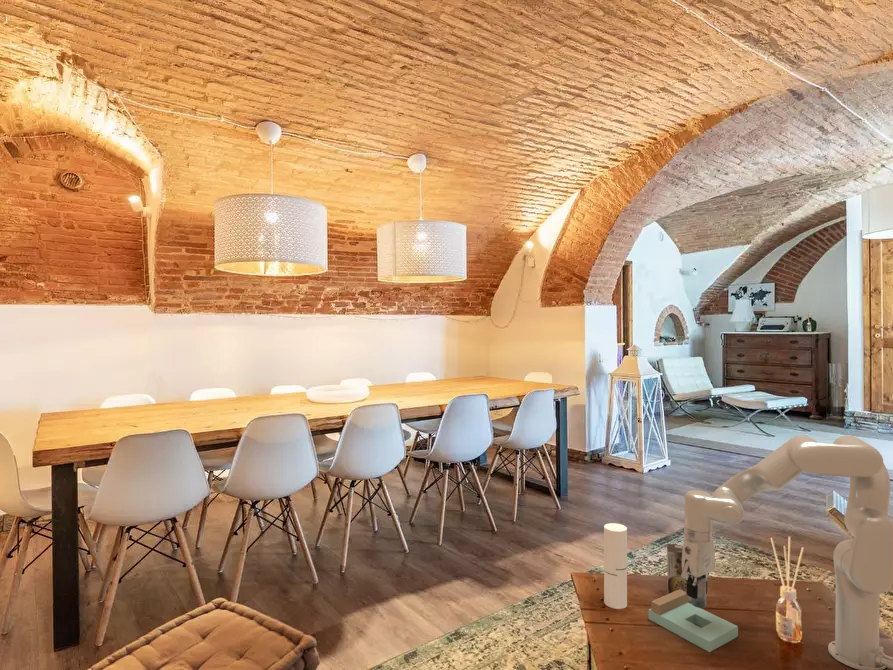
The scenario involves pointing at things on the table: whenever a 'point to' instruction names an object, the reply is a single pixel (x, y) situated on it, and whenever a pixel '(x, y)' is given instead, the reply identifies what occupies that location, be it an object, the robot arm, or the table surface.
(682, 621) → the jig
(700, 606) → the grey upright block
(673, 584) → the coffee box
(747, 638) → the table surface
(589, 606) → the table surface
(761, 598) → the table surface
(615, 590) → the cylindrical container
